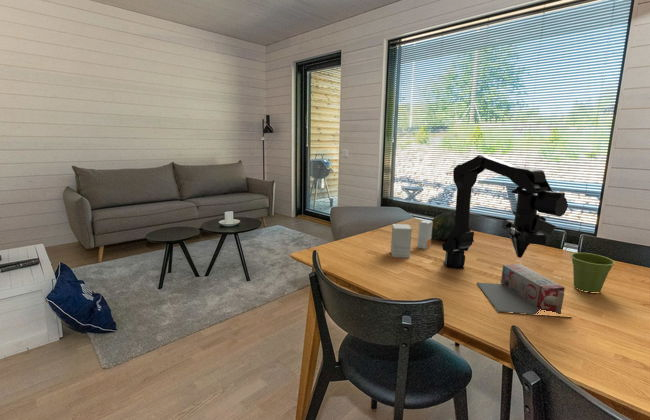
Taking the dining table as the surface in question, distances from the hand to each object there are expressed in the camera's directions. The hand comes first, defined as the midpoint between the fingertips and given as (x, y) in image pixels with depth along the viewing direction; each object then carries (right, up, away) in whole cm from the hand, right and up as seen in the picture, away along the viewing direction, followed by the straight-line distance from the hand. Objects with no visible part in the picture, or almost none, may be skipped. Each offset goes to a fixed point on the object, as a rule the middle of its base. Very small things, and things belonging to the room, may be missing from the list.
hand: (519, 257), depth 111 cm
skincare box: (-17, -2, +48) cm, 51 cm away
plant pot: (+26, -12, +7) cm, 30 cm away
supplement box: (-30, -4, +37) cm, 48 cm away
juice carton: (+2, -7, +9) cm, 11 cm away
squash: (-3, +1, +61) cm, 61 cm away
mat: (-1, -13, -2) cm, 13 cm away
